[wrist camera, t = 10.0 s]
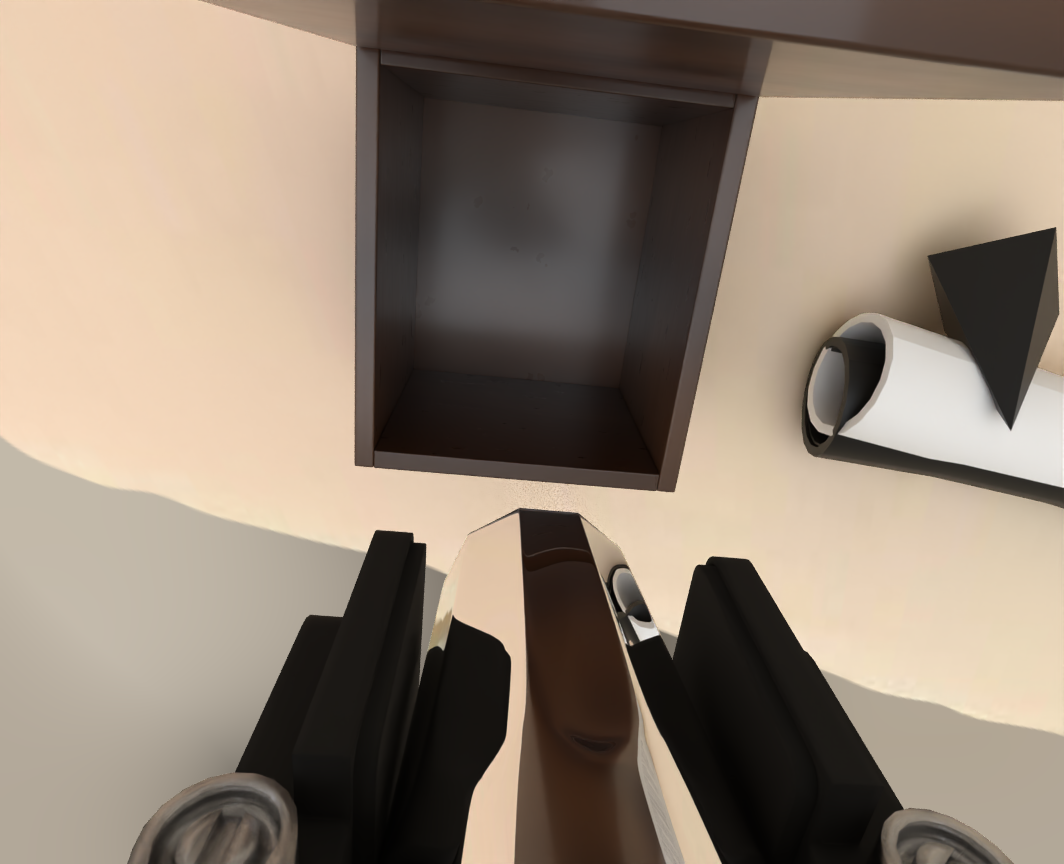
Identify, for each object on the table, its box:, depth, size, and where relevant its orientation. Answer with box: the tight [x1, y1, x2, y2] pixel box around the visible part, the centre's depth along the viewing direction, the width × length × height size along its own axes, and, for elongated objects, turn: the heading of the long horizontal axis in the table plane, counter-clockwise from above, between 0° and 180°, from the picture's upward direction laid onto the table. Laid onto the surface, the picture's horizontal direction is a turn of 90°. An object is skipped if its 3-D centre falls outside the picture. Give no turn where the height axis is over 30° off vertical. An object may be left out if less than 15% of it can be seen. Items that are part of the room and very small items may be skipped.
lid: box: [200, 0, 1064, 101], centre depth 14 cm, size 16×14×1 cm
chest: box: [355, 46, 759, 492], centre depth 30 cm, size 16×14×12 cm
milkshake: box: [377, 508, 768, 864], centre depth 7 cm, size 4×5×10 cm
